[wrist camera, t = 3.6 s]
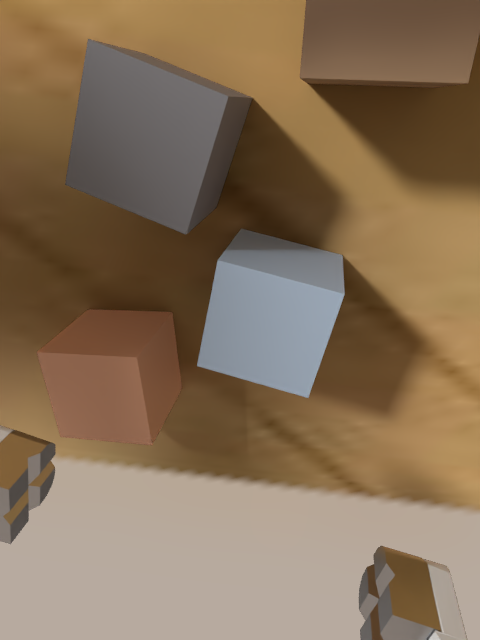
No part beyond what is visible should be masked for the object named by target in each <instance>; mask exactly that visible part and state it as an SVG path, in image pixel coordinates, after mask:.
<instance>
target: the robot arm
mask: <svg viewBox="0 0 480 640" xmlns="http://www.w3.org/2000/svg"><path fill="white" fill-rule="evenodd" d="M54 455H55V444H54V443H52V442H49V441H46V440H43V439H40V438H37V437H34V436H31V435H28V434H25V433H23V432H20V431H17V430H13V429H10V428H7V427H4V426H1V425H0V541H2V542H5V543H9V544H11V543H12V541H13V540H14V539H15V538H16V536H17V535H18V533H19V532H20V531H21V530H22V528H23V527H24V526H25V524H26V523H27V522H28V516H29V513H28V511H29V510H31V509H33V508H35V507H37V506H39V505H40V504H41V503H42V501H43V500H44V499H45V497H46V496H47V494H48V492H49V490H50V488H51V485H52V483H53V479H54V475H55V467H54V465H53V464H52V462H51V459H52V458H53V457H54ZM359 610H360V612H361V613H362V615H363V617H364V618H365V620H366V621H365V623H364V625H363V626H362V628H361V630H360V635H361V640H467V636H466V633H465V629H464V625H463V621H462V617H461V613H460V610H459V605H458V602H457V598H456V595H455V590H454V586H453V582H452V578H451V574H450V571H449V569H448V568H447V566H445V565H442V564H438V563H435V562H432V561H429V560H426V559H422V558H420V557H417V556H413V555H410V554H407V553H403V552H400V551H397V550H394V549H390V548H387V547H383V546H380V547H379V548H378V549H377V550H376V552H375V554H374V564H373V565H371V566H369V567H367V568H366V570H365V572H364V574H363V576H362V580H361V584H360V589H359Z"/></svg>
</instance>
